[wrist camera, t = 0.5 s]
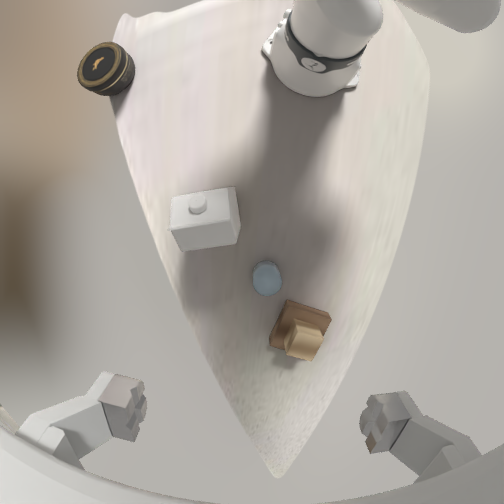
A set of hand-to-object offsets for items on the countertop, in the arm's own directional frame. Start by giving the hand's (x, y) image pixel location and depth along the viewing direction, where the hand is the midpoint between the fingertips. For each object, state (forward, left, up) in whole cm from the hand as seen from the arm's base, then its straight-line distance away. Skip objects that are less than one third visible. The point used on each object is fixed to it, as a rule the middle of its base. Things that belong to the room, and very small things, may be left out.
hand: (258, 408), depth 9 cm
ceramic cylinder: (+7, +5, -42) cm, 43 cm away
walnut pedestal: (+15, +15, -42) cm, 48 cm away
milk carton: (-1, -7, -43) cm, 43 cm away
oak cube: (+15, +15, -39) cm, 45 cm away
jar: (-20, -36, -43) cm, 59 cm away
